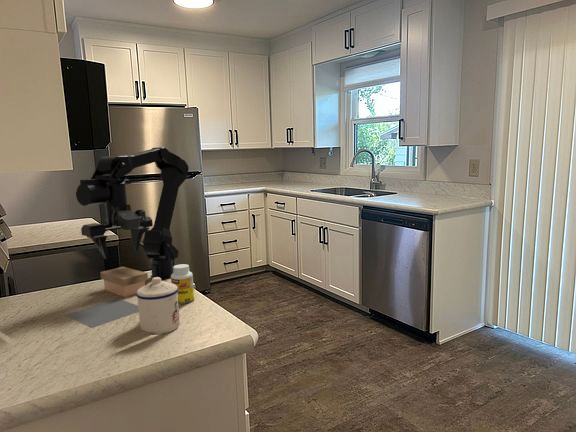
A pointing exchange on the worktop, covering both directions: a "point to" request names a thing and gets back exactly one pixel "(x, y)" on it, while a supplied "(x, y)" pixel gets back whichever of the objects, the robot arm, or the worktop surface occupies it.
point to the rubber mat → (104, 312)
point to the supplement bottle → (183, 283)
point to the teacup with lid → (158, 307)
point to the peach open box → (123, 288)
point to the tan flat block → (124, 276)
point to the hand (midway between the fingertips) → (121, 255)
